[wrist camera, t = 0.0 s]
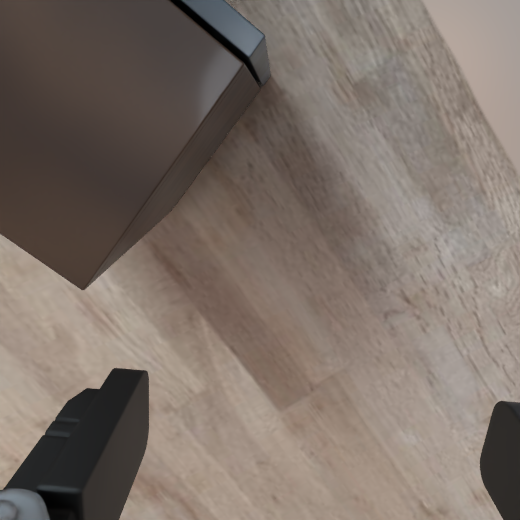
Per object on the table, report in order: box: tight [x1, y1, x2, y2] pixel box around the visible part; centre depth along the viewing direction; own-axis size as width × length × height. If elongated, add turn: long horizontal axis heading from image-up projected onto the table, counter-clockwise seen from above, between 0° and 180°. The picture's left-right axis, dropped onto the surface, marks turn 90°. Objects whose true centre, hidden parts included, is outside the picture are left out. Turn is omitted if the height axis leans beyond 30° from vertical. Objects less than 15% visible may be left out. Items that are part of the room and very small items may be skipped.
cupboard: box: [0, 0, 260, 290], centre depth 26 cm, size 12×16×18 cm
